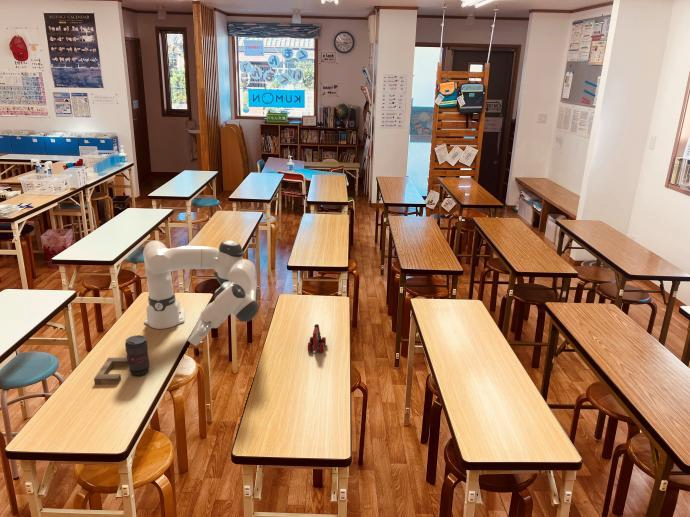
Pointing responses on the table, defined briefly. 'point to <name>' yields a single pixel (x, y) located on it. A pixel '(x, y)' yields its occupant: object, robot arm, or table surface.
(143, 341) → the camera lens
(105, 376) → the lens cradle
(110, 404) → the table surface
